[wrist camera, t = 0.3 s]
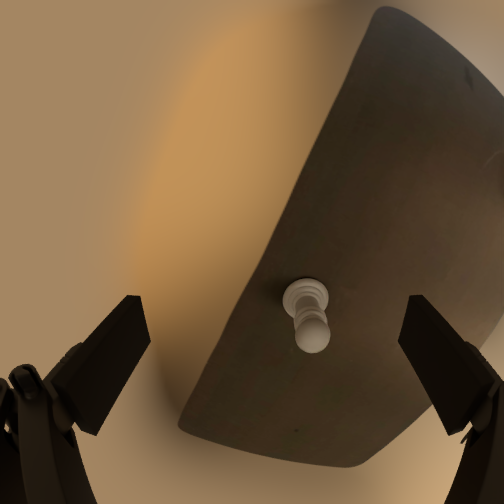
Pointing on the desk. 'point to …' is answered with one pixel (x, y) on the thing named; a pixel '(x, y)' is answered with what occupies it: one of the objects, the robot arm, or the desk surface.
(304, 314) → the chess piece
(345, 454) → the desk surface
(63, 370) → the robot arm
